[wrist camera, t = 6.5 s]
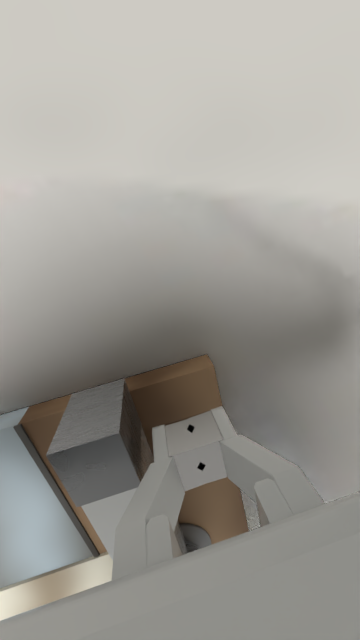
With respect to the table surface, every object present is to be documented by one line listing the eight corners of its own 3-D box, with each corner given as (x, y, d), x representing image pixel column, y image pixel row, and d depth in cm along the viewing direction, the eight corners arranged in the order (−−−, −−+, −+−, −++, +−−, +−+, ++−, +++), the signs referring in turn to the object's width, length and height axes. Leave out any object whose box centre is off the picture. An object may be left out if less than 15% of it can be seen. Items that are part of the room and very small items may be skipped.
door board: (207, 354, 12) (215, 368, 11) (253, 568, 19) (262, 592, 18) (-219, 479, 11) (-268, 512, 9) (0, 662, 18) (-11, 696, 16)
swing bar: (206, 567, 15) (224, 650, 12) (151, 586, 15) (155, 677, 12) (140, 373, 10) (141, 433, 7) (55, 398, 10) (16, 472, 7)
